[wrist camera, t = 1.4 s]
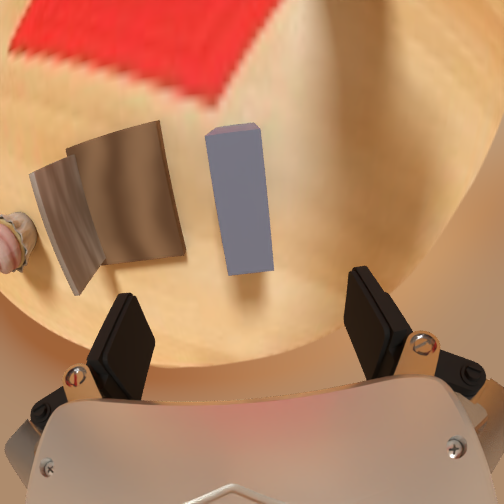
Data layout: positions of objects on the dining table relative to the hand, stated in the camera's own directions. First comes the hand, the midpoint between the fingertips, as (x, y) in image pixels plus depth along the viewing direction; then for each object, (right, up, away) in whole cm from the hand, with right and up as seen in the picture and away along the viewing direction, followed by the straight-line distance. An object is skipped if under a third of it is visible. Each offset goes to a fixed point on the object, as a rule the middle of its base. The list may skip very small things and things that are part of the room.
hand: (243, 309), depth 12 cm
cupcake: (-34, +6, +20) cm, 40 cm away
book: (-1, +11, +19) cm, 21 cm away
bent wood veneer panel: (-15, +9, +19) cm, 25 cm away
